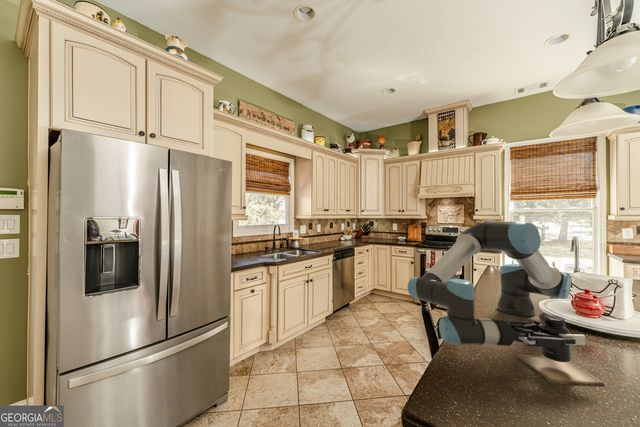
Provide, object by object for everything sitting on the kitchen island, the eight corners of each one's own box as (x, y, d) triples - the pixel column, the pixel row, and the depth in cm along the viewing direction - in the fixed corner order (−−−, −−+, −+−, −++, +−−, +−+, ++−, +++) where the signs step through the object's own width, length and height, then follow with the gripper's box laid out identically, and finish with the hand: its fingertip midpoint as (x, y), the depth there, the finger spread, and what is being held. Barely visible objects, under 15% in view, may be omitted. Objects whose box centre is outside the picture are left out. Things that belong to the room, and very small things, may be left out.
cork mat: (561, 358, 87) (561, 356, 87) (603, 385, 73) (603, 382, 73) (516, 357, 88) (516, 354, 88) (549, 382, 74) (549, 380, 74)
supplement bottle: (547, 349, 85) (547, 312, 86) (575, 359, 79) (574, 319, 80) (536, 354, 82) (535, 315, 83) (564, 365, 76) (563, 323, 77)
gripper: (477, 331, 92) (548, 333, 90) (514, 361, 73) (605, 364, 71) (477, 309, 92) (547, 310, 90) (513, 333, 73) (604, 336, 71)
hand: (572, 334), depth 81 cm, fingers closed on supplement bottle, 7 cm apart
